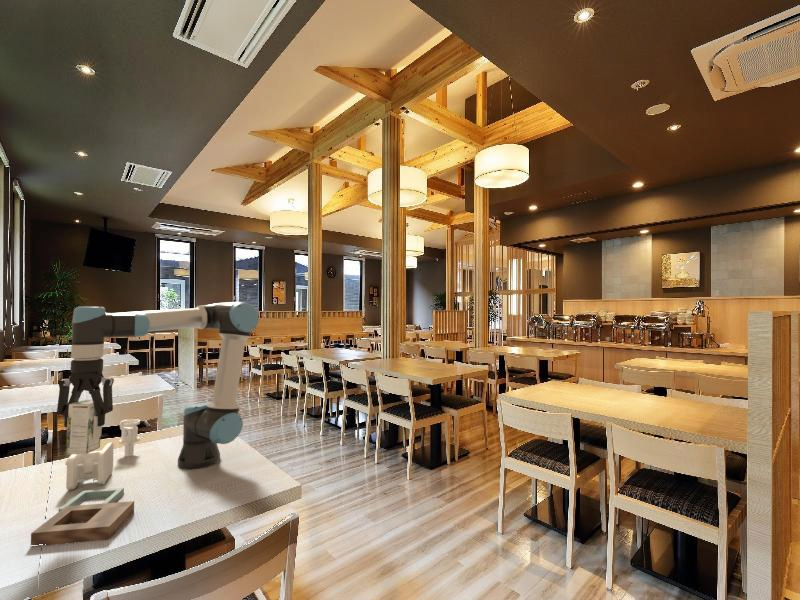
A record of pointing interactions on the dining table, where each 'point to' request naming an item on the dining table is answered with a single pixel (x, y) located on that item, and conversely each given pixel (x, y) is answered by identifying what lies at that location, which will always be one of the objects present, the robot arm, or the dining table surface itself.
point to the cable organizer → (90, 466)
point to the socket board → (98, 527)
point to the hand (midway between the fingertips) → (84, 437)
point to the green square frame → (96, 496)
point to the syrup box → (81, 428)
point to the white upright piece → (129, 435)
